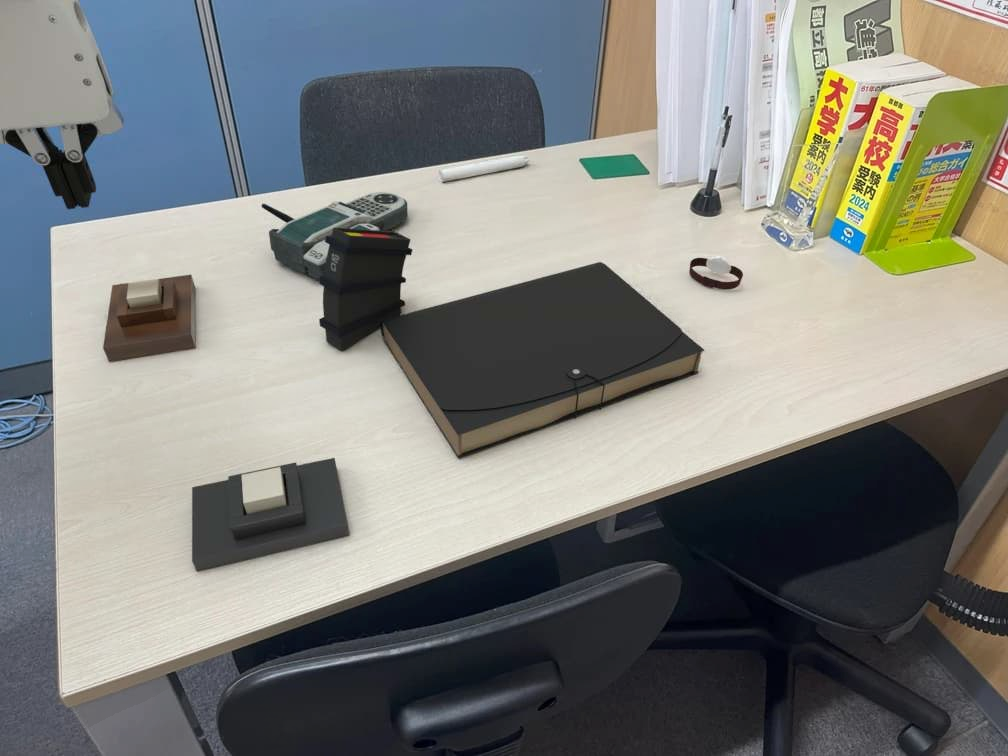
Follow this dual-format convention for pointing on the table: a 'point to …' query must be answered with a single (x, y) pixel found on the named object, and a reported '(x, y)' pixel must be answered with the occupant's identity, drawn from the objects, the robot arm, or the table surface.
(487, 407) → the file folder
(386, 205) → the communication device
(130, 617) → the table surface
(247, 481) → the near key
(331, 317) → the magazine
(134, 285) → the beige switch key
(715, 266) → the watch
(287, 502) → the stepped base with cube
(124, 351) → the brown switch frame
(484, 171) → the marker
